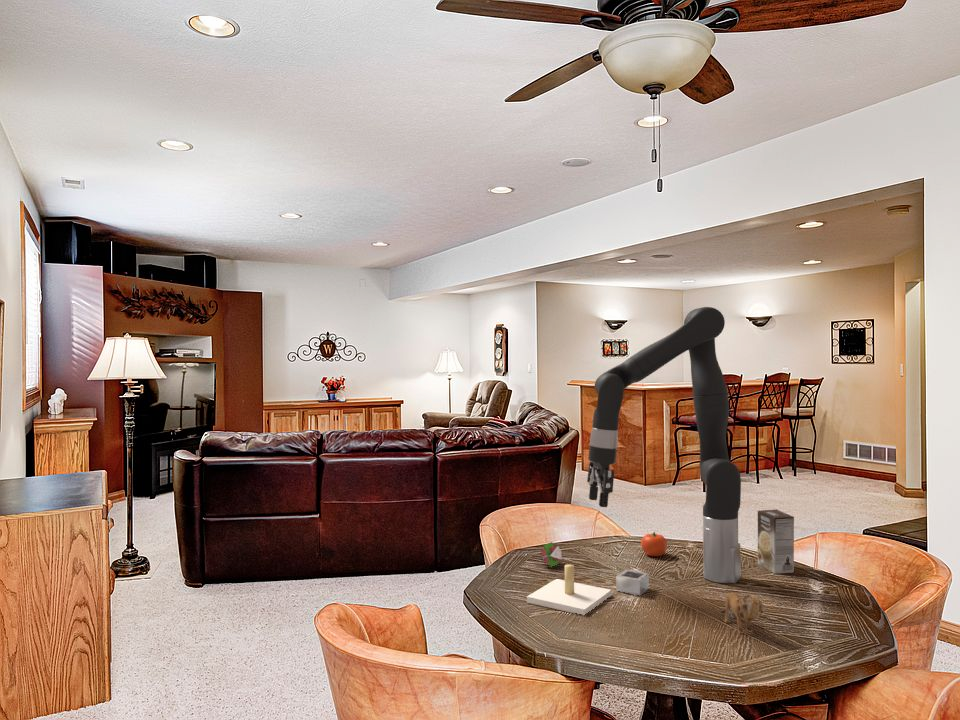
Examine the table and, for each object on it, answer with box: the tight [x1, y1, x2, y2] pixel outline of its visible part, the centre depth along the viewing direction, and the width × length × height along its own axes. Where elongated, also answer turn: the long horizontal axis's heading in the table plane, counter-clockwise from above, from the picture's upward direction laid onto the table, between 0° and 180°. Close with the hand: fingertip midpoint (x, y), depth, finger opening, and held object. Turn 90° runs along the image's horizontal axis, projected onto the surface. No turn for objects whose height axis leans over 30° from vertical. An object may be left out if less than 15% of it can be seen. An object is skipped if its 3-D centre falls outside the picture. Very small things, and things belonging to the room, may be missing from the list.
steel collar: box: [615, 569, 650, 597], centre depth 180 cm, size 6×6×4 cm
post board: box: [526, 563, 612, 616], centre depth 174 cm, size 16×16×8 cm
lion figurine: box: [720, 591, 767, 634], centre depth 155 cm, size 15×5×9 cm, turn 13°
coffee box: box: [757, 509, 795, 574], centre depth 196 cm, size 9×6×16 cm
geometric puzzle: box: [538, 541, 564, 568], centre depth 201 cm, size 7×7×8 cm
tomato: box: [640, 531, 668, 557], centre depth 210 cm, size 8×8×7 cm
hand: (597, 503), depth 188 cm, fingers open, 8 cm apart
